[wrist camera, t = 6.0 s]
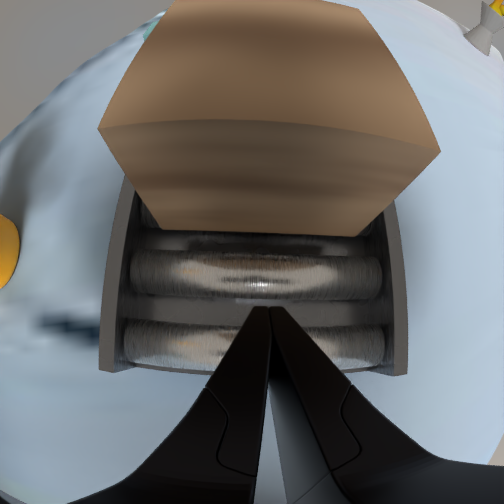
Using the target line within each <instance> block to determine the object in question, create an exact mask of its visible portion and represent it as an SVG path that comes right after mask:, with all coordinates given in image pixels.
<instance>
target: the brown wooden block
mask: <svg viewBox="0 0 504 504" xmlns="http://www.w3.org/2000/svg"><path fill="white" fill-rule="evenodd" d="M97 129H98V131H99V132H100V134H101V136H102V137H103V139H104V141H105V142H106V144H107V146H108V147H109V149H110V151H111V152H112V154H113V156H114V157H115V159H116V160H117V162H118V164H119V165H120V167H121V168H122V170H123V171H124V173H125V175H126V176H127V178H128V179H129V181H130V182H131V184H132V185H133V187H134V188H135V190H136V192H137V193H138V195H139V196H140V198H141V199H142V201H143V202H144V204H145V205H146V206H147V208H148V209H149V211H150V212H151V214H152V215H153V217H154V218H155V220H156V221H157V223H158V224H159V225H160V227H161V228H162V230H204V231H237V232H264V233H288V234H310V235H330V236H348V237H355V236H356V235H357V234H358V233H360V232H361V231H362V230H363V229H364V228H365V227H366V226H367V225H368V224H369V223H370V222H371V221H372V220H373V219H375V218H376V217H377V216H378V215H379V214H380V213H381V212H382V211H383V210H384V209H385V208H386V207H387V206H388V205H389V204H390V203H391V202H392V201H393V200H394V199H395V198H396V197H397V196H398V195H399V194H400V193H401V192H402V191H403V190H404V189H405V188H406V187H407V186H408V185H409V184H410V183H411V182H412V181H413V180H414V179H415V178H416V177H417V176H418V175H419V174H420V173H421V172H422V171H423V170H424V169H425V168H426V167H427V166H428V165H429V164H430V163H431V162H432V161H433V160H434V159H435V158H436V156H437V155H438V154H439V153H440V152H441V150H440V148H439V145H438V143H437V140H436V138H435V135H434V133H433V131H432V128H431V126H430V124H429V122H428V119H427V117H426V115H425V113H424V111H423V109H422V107H421V105H420V103H419V101H418V99H417V97H416V95H415V93H414V91H413V89H412V87H411V86H410V84H409V82H408V80H407V78H406V77H405V75H404V73H403V72H402V70H401V68H400V67H399V65H398V63H397V62H396V60H395V58H394V57H393V55H392V54H391V52H390V51H389V49H388V48H387V46H386V45H385V43H384V42H383V40H382V39H381V38H380V36H379V35H378V33H377V32H376V31H375V29H374V28H373V27H372V25H371V24H370V23H369V21H368V20H367V19H366V18H365V16H364V15H363V14H362V13H361V11H360V10H359V9H357V8H353V7H349V6H345V5H341V4H336V3H332V2H327V1H322V0H175V2H174V3H173V4H172V5H171V6H170V8H169V9H168V10H167V11H166V13H165V14H164V15H163V17H162V18H161V19H160V21H159V22H158V23H157V25H156V26H155V27H154V29H153V30H152V32H151V33H150V34H149V36H148V37H147V39H146V40H145V42H144V43H143V45H142V46H141V48H140V49H139V51H138V53H137V54H136V56H135V57H134V59H133V61H132V62H131V64H130V66H129V67H128V69H127V71H126V72H125V74H124V76H123V78H122V80H121V81H120V83H119V85H118V87H117V89H116V91H115V93H114V95H113V97H112V98H111V100H110V102H109V105H108V107H107V109H106V111H105V113H104V115H103V117H102V119H101V122H100V124H99V126H98V128H97Z"/></svg>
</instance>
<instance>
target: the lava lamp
mask: <svg viewBox="0 0 504 504" xmlns="http://www.w3.org/2000/svg"><path fill="white" fill-rule="evenodd" d="M502 2H503V0H495V1H494V2H493V3H492V4H490V5H489V6H488V5H487V4H486V3H484V2H483V1H482V7H481V22H480V24H479V25H478V26H476V27H475V28H473V29H472V30H470V31H469V32H468V33H466V34H465V35H464V37H465V38H466V39H467V40H468V41H469V42H470V43H471V44H472V45H473V46H475V47H476V48H477V49H478V50H479V51H481V52H482V53H483V54H485V55H487V56H489V52H490V47H491V42H492V36H493V34H494V33H495V32H497V31H499V30H500V29H502V28H504V18H503V17H502V15H503V16H504V5H502V4H501V3H502Z"/></svg>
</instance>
